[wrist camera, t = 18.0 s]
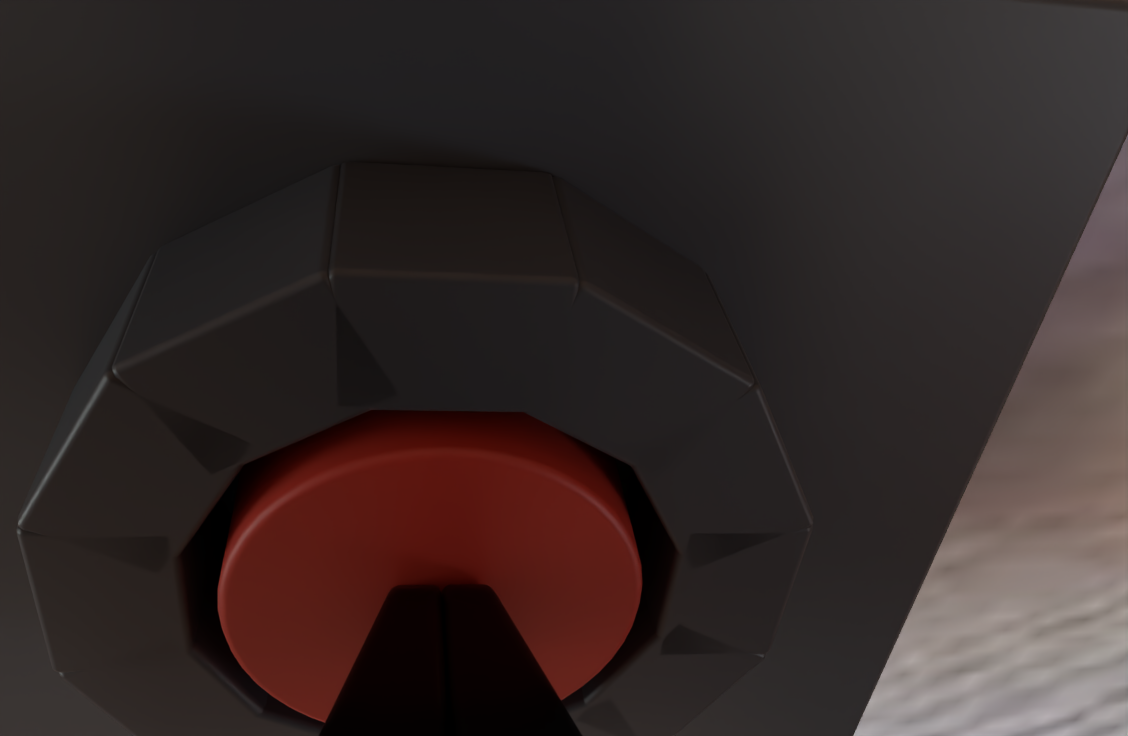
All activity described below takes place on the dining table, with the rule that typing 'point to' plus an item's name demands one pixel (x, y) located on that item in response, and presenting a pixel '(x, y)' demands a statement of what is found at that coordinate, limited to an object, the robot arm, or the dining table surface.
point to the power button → (425, 544)
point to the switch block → (526, 308)
